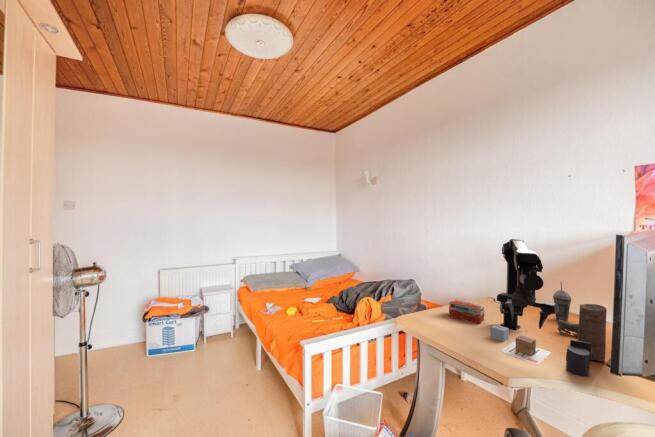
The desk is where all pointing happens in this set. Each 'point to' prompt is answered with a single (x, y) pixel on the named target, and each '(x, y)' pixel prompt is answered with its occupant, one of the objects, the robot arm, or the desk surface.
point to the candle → (593, 329)
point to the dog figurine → (567, 327)
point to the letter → (534, 359)
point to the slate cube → (499, 333)
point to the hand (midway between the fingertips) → (525, 324)
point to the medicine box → (466, 311)
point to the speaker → (578, 358)
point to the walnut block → (525, 345)
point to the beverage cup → (562, 304)
